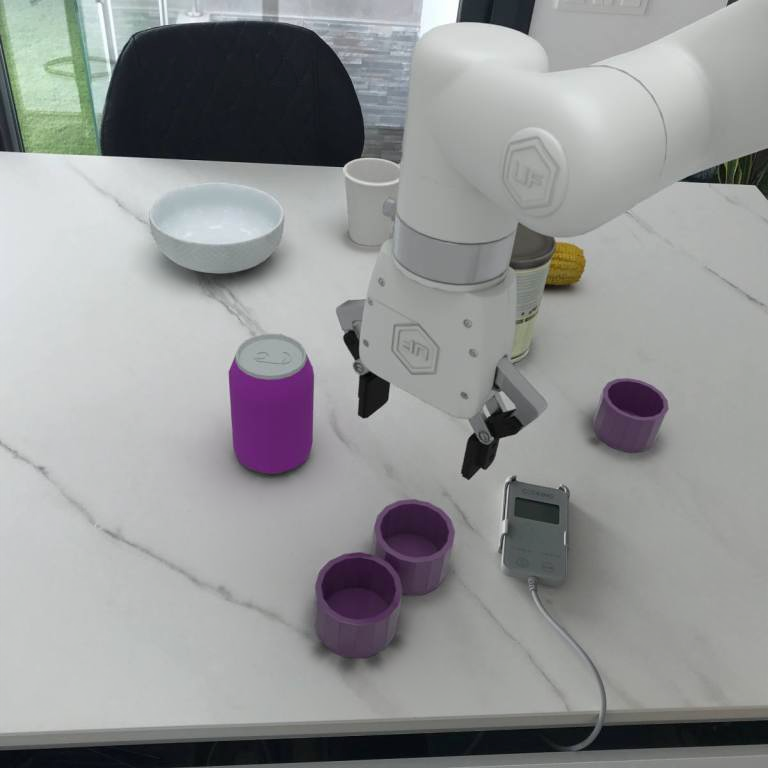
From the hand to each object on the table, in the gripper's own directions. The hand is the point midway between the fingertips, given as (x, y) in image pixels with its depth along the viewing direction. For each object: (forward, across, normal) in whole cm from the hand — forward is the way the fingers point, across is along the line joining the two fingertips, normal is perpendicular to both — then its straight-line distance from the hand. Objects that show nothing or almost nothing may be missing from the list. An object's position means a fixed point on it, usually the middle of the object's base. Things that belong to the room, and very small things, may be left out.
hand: (422, 437), depth 60 cm
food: (+14, -17, +45) cm, 50 cm away
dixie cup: (+14, -37, +42) cm, 57 cm away
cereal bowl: (+14, -47, +23) cm, 54 cm away
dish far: (+13, +8, +28) cm, 32 cm away
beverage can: (+14, -17, +1) cm, 22 cm away
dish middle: (+13, +1, -1) cm, 13 cm away
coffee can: (+14, -11, +32) cm, 36 cm away
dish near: (+13, +1, -8) cm, 16 cm away
